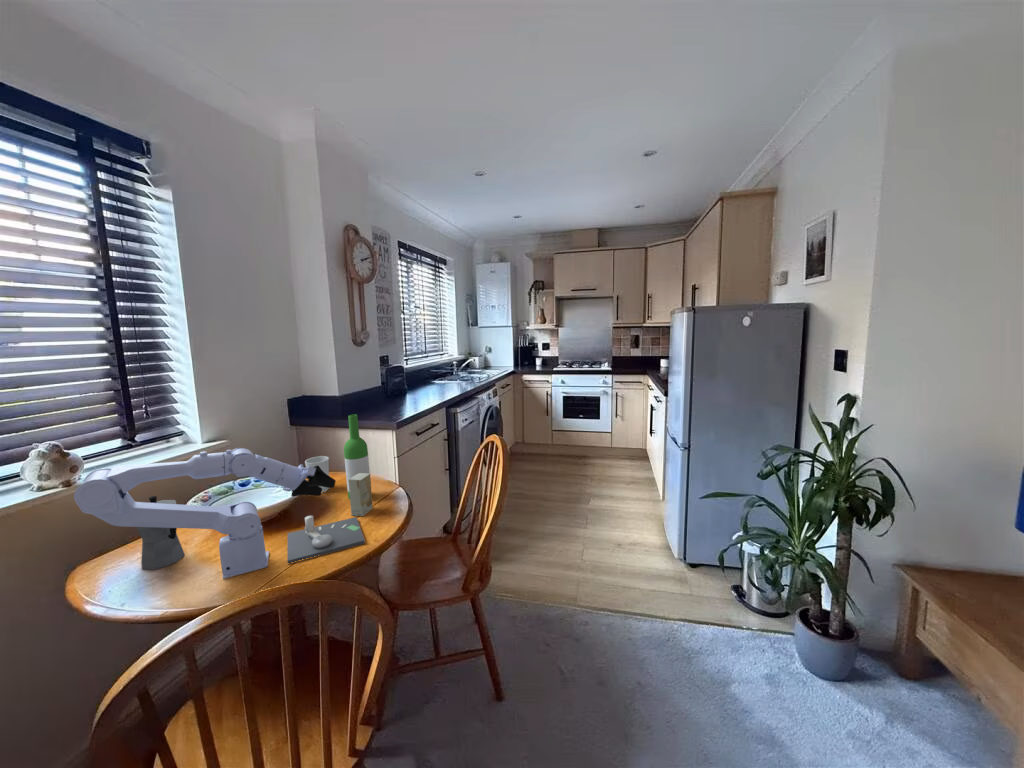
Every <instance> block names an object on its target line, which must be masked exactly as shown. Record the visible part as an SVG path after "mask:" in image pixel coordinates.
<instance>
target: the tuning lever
mask: <svg viewBox="0 0 1024 768" xmlns="http://www.w3.org/2000/svg"><path fill="white" fill-rule="evenodd" d="M314 519H315V518H314V515H307V516H305V517H304V524H305V526H304V529H306V533H307V534H308V535H310V536H311V537H312V538H313V540H312V546H313V547H314V548H323V547H326V546H328V545H330V544H331V543H332V536H331V535H328V534H325V535H320V534H319V533H317V532H316V531H315V528H314V527H315V520H314Z"/></svg>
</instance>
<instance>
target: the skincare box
mask: <svg viewBox="0 0 1024 768" xmlns="http://www.w3.org/2000/svg"><path fill="white" fill-rule="evenodd" d="M371 479H372V478H371V473H370V474H367V473H358V474H357V475H355V476H353V477H352V478H350V479H349V491H350V499H349V502H350V515H351V516H355V517H364V516H365V515H366V514H368V513H369V512H370V511H371V510H373V508H374V507H373V495H372V482H371V481H372V480H371Z"/></svg>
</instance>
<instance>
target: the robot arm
mask: <svg viewBox="0 0 1024 768" xmlns="http://www.w3.org/2000/svg"><path fill="white" fill-rule="evenodd" d="M231 474H233V475H235V477H237V478H243V477H250V478H254V479H256V480H259V481H263V482H265V483H270V484H273V485H276V486H280V487H282V491H285V492H291V497H300V496H312V497H320V496H321V495H322V493H321V492H322V488H321V487H319V486H322V487H328V488H329V489H333V488H335V487H336V486H335V485H336V481H337V480H336V479H335V478H333V477H331V476H330V475H329V476H328V475H327V474H326V473H324V472H323V471H322V470H321V468H320V467H319V466H317V465H316V466H314V467H310V466H309V467H307V468H306V467H304V464H302V463H300V464H299V465H298V466H294V465H292V464H290V463H285V462H282V461H280V460H276V459H274V458H272V457H271V458H270V457H266V456H262V455H259V454H256V453H255V454H254V453H253V451H252V450H250V449H248V448H244V447H236V448H234V449H226V451H224V452H223V451H222V452H212V453H210V452H209V453H208V451H207V450H205V451H204V450H203V451H200V452H199V454H193V455H192V457H191V458H189V459H188V460H186V461H185V460H184V461H181V460H180V461H172V462H171V461H170V462H169V461H167V462H155V463H153V462H152V463H143V464H142V463H141V464H139V463H138V464H125V465H124V464H123V465H115V466H112V468H110V467H103V468H98V469H94V470H92V471H91V472H89V473H88V474H87V475H86V476H85V478H84V479H83V482H82V483H81V484H80V485H79V486H78V487H77V488H76V490H75V491H74V494H73V497H74V498H73V499H74V502H75V503H76V505H77V506H78V508H79V509H80V511H81V512H82V513H83V514H88V515H92V516H94V517H95V518H98V519H99V520H102V521H103V522H105V523H107V524H109V525H111V526H115V527H129V528H130V527H133V528H135V527H136V528H137V527H159V528H177V529H193V530H195V529H197V530H202V529H203V530H214V531H216V532H218V533H220V534H223V535H225V536H222V537H220V539H219V543H218V545H219V547H218V549H219V557H220V559H219V560H220V566H221V571H222V572H221V573H222V579H228V578H232V577H234V576H240V575H243V574H246V573H251V572H254V571H258V570H262V569H265V568H268V566H269V558H270V557H269V556H270V551H268V550H266V545H265V544H266V543H265V537H264V536H265V535H264V528H263V524H262V520H261V518H260V516H259V513H258V508H257V507H256V505H255V504H254V503H253V502H251V501H239V502H237V503H234V504H233V503H230V504H229V503H227V504H222V505H219V506H213V505H211V506H210V505H199V504H198V505H195V504H177V503H176V504H163V503H151V502H145V501H143V502H142V501H136V500H134V498H133V496H131V494H130V493H129V491H131V490H132V489H134V488H135V487H137V486H138V485H140V484H142V483H146V482H147V483H148V482H152V481H157V480H159V481H160V480H164V479H172V478H176V477H177V478H178V477H185V476H188V477H190V478H192V479H194V480H201V479H208V478H209V479H210V478H216V477H217V478H218V477H225V476H228V475H231ZM306 479H307V480H306Z"/></svg>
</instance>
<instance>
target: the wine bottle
mask: <svg viewBox="0 0 1024 768" xmlns="http://www.w3.org/2000/svg"><path fill="white" fill-rule="evenodd" d="M358 419H359V418H358V414H356V413H355V414H354V413H353V414H349V415H348V419H347V420H348V427H349V429H348V430H349V431H348V432H349V439H347V441H346V442H345V443H344V446H343V456H344V466H345V478H346V489H347V497H348V500H350V491H349V479H350V478H352V477H353V476H355V475H357V474H358V473H367V474H370V475H371V472H370V463H369V462H370V461H369V452H368V451H369V450H368V444H367V442H366V441H365V439H363V438H362V437H360V430H359V429H360V428H359V420H358Z"/></svg>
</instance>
